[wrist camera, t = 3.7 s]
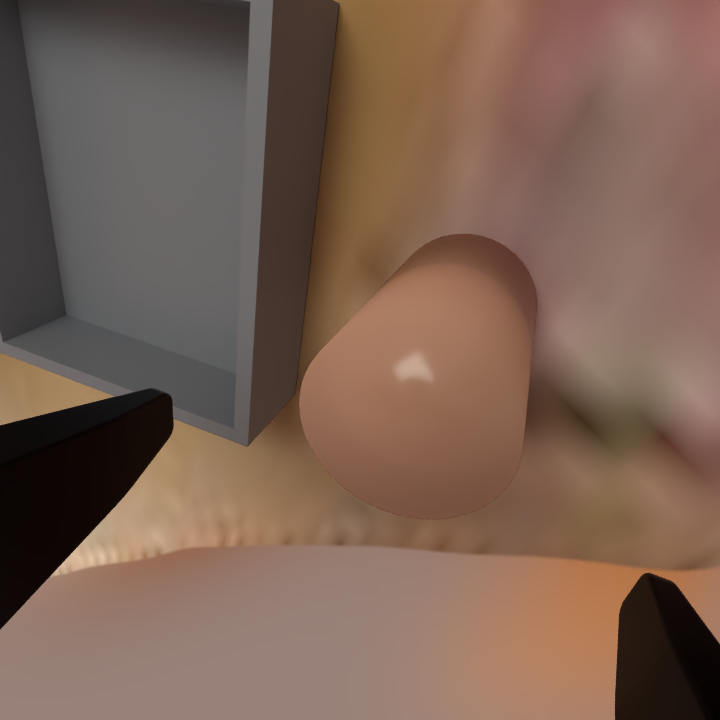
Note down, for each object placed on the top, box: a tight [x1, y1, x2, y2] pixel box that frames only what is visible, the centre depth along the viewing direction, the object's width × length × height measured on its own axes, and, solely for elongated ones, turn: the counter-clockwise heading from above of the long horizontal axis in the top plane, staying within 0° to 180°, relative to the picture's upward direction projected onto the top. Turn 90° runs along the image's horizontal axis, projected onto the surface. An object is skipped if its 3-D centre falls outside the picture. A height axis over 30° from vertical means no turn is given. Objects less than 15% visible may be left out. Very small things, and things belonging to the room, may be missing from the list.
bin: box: [0, 0, 339, 447], centre depth 18 cm, size 12×14×4 cm
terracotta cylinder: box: [299, 234, 537, 519], centre depth 14 cm, size 5×5×8 cm
